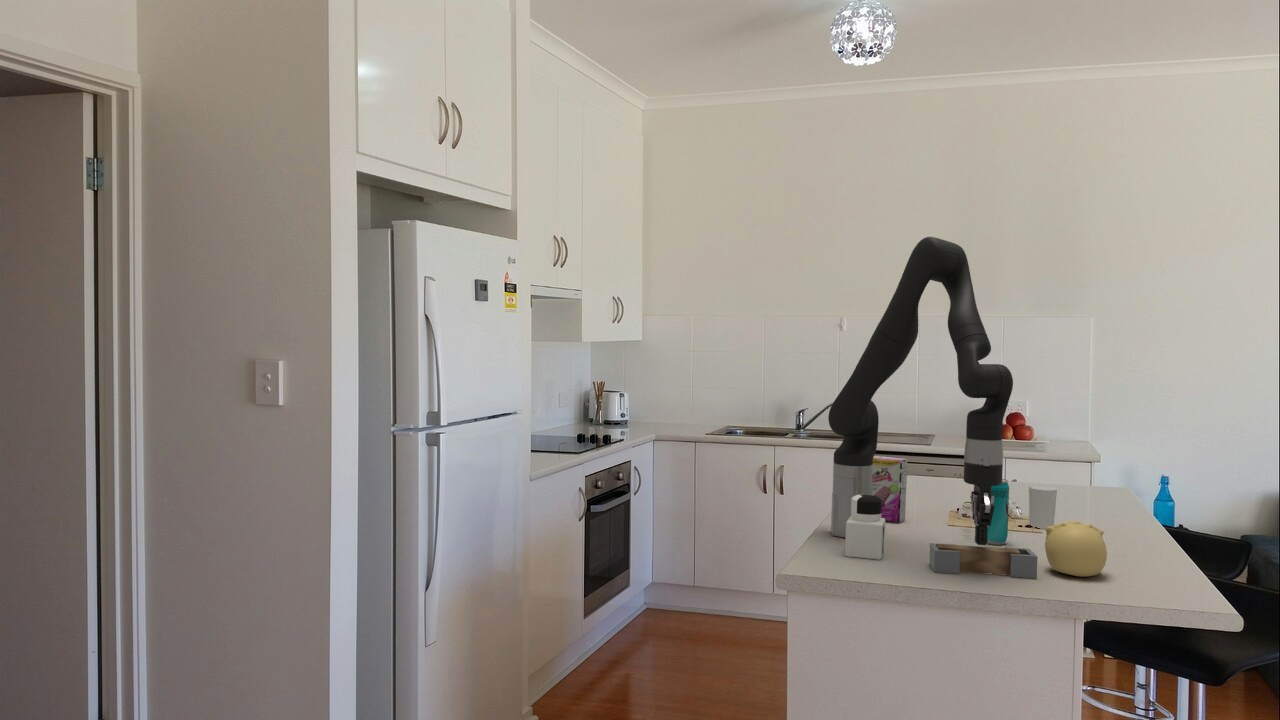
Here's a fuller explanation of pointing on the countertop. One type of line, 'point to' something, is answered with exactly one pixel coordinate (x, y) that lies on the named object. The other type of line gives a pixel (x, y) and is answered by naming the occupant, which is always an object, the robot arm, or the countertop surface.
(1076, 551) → the sculpture
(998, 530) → the beverage can
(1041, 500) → the drinking glass
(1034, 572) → the endcap
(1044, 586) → the countertop surface
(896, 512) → the candy bar box
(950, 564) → the endcap
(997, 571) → the brown wooden bar
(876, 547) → the container
